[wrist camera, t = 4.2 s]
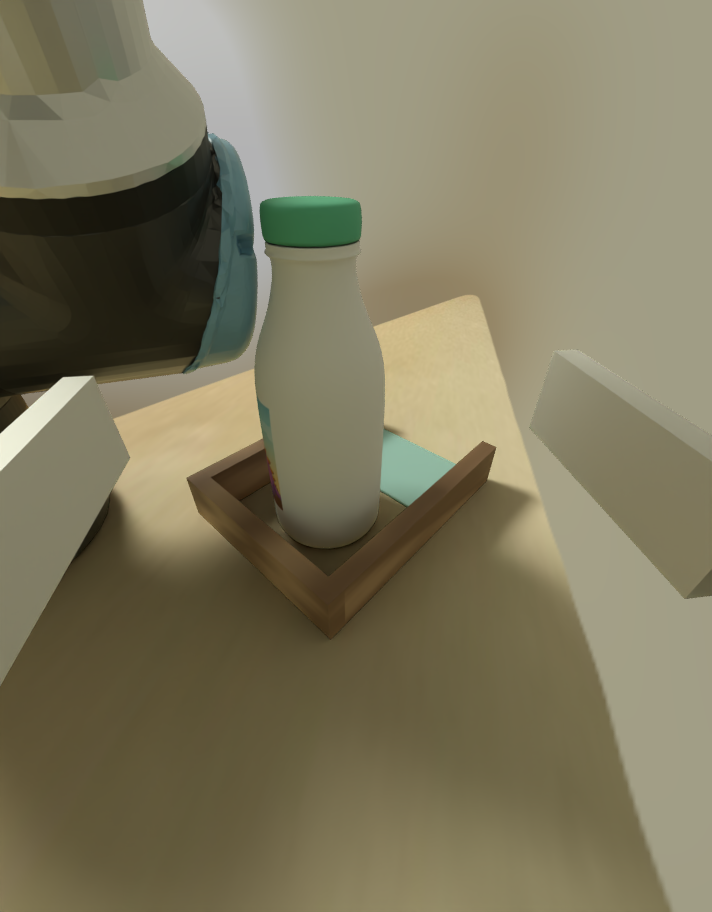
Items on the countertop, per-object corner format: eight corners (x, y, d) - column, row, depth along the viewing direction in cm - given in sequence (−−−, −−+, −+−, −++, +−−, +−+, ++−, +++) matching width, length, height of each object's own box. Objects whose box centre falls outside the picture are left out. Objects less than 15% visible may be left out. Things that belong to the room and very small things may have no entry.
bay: (198, 512, 29) (186, 477, 27) (360, 418, 40) (360, 388, 38) (330, 639, 21) (327, 605, 19) (486, 480, 32) (496, 447, 30)
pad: (321, 455, 35) (321, 453, 35) (372, 424, 39) (372, 423, 39) (421, 515, 29) (421, 514, 29) (468, 472, 33) (468, 470, 33)
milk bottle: (394, 497, 31) (421, 196, 18) (349, 569, 25) (344, 211, 13) (312, 468, 33) (289, 190, 21) (256, 528, 28) (180, 200, 16)
